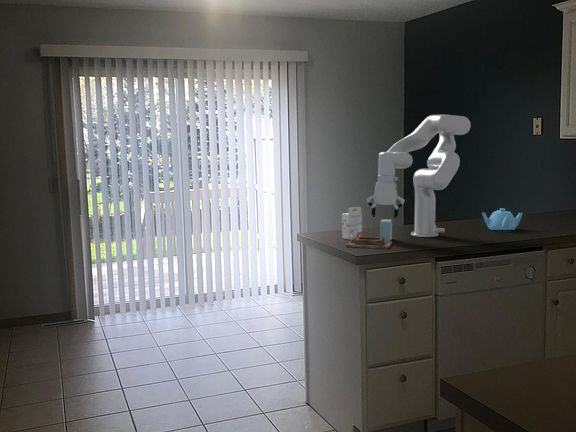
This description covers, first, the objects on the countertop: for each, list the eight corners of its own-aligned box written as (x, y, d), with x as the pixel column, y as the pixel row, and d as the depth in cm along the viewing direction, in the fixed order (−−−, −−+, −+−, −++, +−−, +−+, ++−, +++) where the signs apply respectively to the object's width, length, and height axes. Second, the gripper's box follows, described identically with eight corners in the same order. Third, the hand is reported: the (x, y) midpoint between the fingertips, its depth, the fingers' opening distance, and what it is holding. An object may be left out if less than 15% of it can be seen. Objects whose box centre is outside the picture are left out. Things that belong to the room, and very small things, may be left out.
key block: (391, 239, 293) (392, 219, 292) (389, 241, 286) (389, 221, 285) (381, 238, 294) (382, 219, 293) (379, 241, 287) (379, 221, 286)
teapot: (524, 230, 319) (525, 208, 317) (507, 233, 309) (508, 210, 308) (497, 226, 330) (497, 206, 329) (480, 229, 321) (481, 208, 320)
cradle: (392, 243, 281) (392, 234, 280) (388, 248, 267) (388, 239, 267) (351, 241, 286) (351, 233, 285) (345, 247, 272) (345, 237, 272)
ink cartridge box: (355, 236, 301) (355, 205, 299) (362, 237, 297) (362, 206, 295) (341, 238, 296) (341, 206, 294) (348, 239, 292) (348, 207, 290)
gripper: (406, 179, 288) (404, 217, 290) (368, 178, 293) (367, 215, 294) (404, 180, 281) (403, 219, 283) (365, 179, 285) (364, 217, 287)
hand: (384, 217), depth 289 cm, fingers open, 9 cm apart
